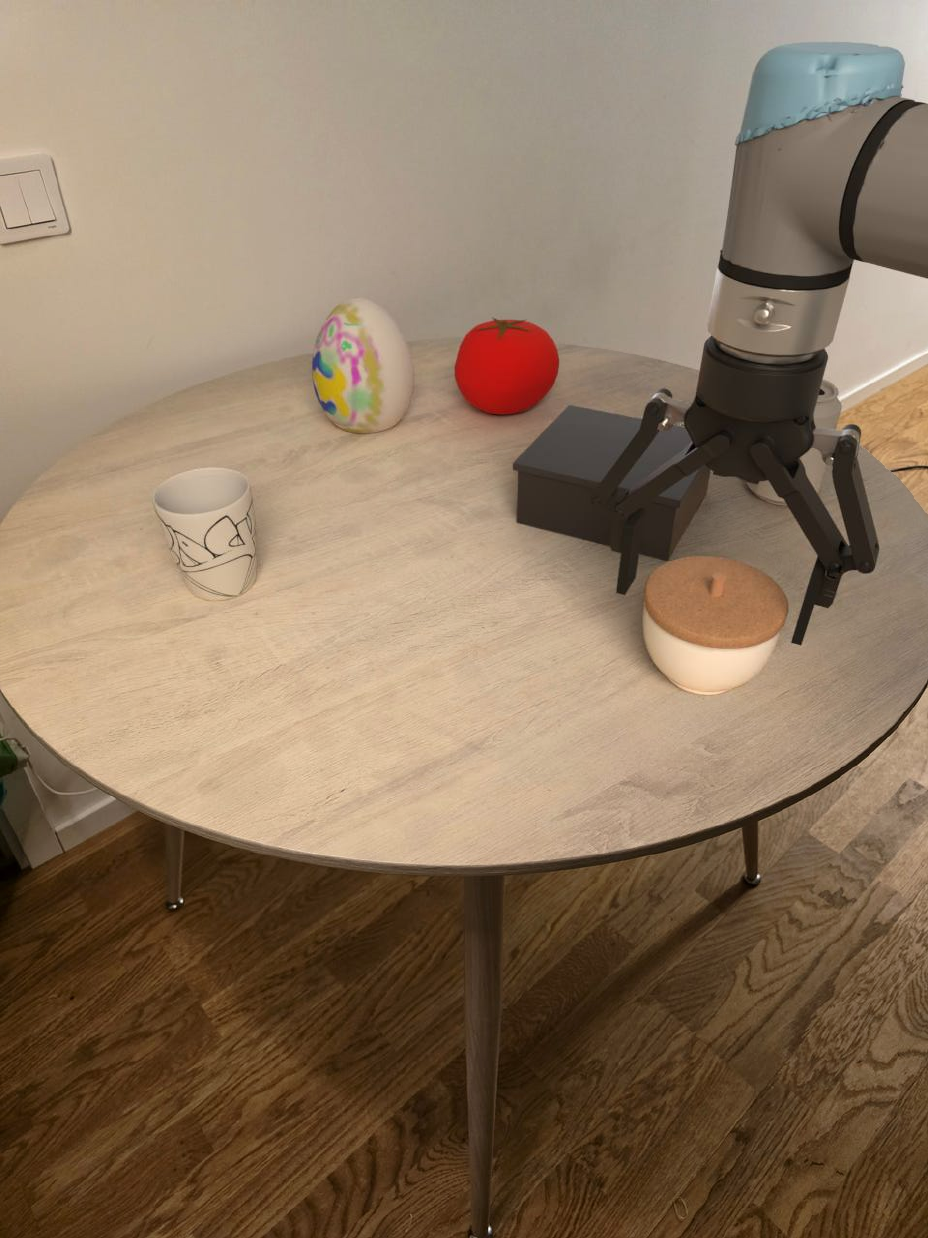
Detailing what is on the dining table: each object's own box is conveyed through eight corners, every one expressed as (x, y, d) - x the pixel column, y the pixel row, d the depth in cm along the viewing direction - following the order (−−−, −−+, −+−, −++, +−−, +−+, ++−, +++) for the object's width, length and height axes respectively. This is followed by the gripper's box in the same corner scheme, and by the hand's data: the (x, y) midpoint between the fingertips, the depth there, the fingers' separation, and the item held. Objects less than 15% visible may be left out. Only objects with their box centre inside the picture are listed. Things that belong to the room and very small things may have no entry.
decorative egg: (299, 419, 109) (281, 299, 100) (376, 390, 115) (366, 275, 106) (357, 452, 102) (344, 325, 93) (436, 419, 108) (431, 298, 99)
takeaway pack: (711, 493, 93) (721, 434, 88) (670, 564, 83) (680, 501, 78) (565, 461, 99) (569, 404, 95) (511, 523, 89) (512, 462, 84)
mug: (149, 566, 84) (121, 475, 78) (227, 535, 88) (207, 446, 82) (202, 621, 77) (177, 526, 71) (284, 584, 81) (267, 491, 75)
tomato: (436, 408, 111) (433, 322, 104) (506, 378, 118) (507, 296, 111) (505, 437, 104) (506, 347, 97) (573, 403, 111) (579, 317, 104)
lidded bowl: (607, 667, 71) (617, 574, 65) (687, 613, 77) (703, 523, 71) (716, 737, 65) (738, 641, 59) (794, 672, 70) (822, 578, 65)
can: (832, 497, 92) (863, 390, 84) (781, 516, 89) (808, 408, 81) (779, 468, 97) (804, 365, 89) (729, 486, 94) (750, 380, 87)
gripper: (558, 329, 56) (542, 591, 69) (986, 403, 47) (873, 688, 60) (599, 293, 61) (577, 544, 74) (991, 354, 52) (886, 626, 65)
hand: (709, 609), depth 67 cm, fingers open, 13 cm apart
